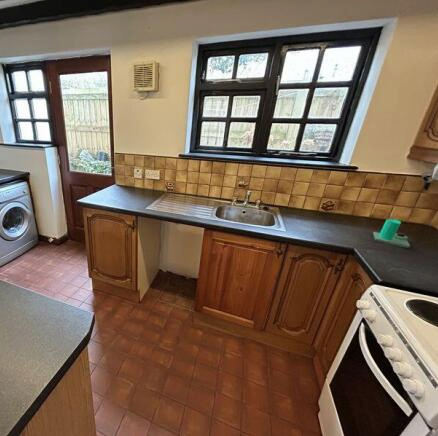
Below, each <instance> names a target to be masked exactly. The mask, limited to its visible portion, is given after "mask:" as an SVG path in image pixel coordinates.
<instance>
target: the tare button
mask: <svg viewBox="0 0 438 436" xmlns="http://www.w3.org/2000/svg"><path fill="white" fill-rule="evenodd" d="M396 234H397V236H400V237H404V236H406V233H404V232H397V233H396Z"/></svg>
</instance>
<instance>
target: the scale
mask: <svg viewBox="0 0 438 436" xmlns="http://www.w3.org/2000/svg"><path fill="white" fill-rule="evenodd" d="M372 234H373V239H374V241H376V242H381V243H385V244H387V245H388V244H389V245H393V246H398V247H402V248H407V249H410V248H411V244H410V243H409V242H408V239H409V237H408V236H406V235H405V236H404V237H400V236H397V234H398V233H396V234H395V235H394V237H393V239H392V240H386V239H383V238H381V237H379V234H380V232H377V231H373V232H372Z"/></svg>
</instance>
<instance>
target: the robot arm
mask: <svg viewBox="0 0 438 436" xmlns="http://www.w3.org/2000/svg"><path fill="white" fill-rule="evenodd" d="M427 175H430V177H427ZM421 177H422V179H423V181H424V185H423V187H422V188H423V191H425V192H426V191H428V190H429V188H430V186H431V182H433V181H438V162H437V163H436V164H435V167H434V168H433V169H432V170H428V171H425V172H421Z"/></svg>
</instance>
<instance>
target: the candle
mask: <svg viewBox="0 0 438 436" xmlns="http://www.w3.org/2000/svg"><path fill="white" fill-rule="evenodd" d="M401 224H402V221H400V220H397V219H396V218H390V219H389V218H386V220H385V222H384V224H383V226H382V228H381V230H380V232H379V233H380V234H379V237H381V238H383V239H386V240H392V239H393V237H394V235H395V234H397V233H398V232H397V231H398V230H399V228H400V226H401Z"/></svg>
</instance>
